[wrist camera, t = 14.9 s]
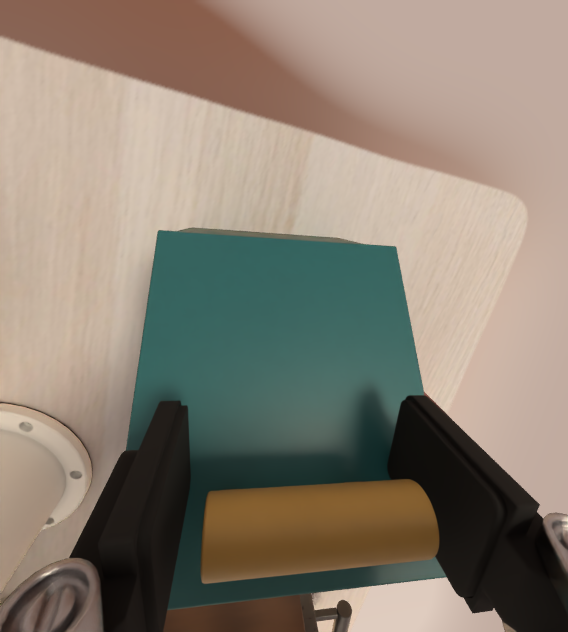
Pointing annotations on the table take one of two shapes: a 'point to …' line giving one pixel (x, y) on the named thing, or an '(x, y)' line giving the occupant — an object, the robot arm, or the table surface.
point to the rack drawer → (325, 615)
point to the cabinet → (240, 617)
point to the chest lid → (285, 415)
